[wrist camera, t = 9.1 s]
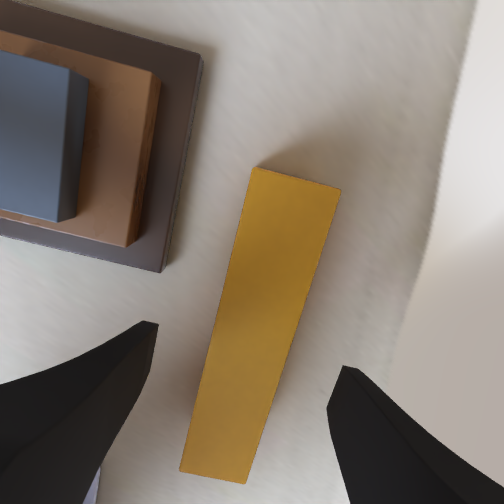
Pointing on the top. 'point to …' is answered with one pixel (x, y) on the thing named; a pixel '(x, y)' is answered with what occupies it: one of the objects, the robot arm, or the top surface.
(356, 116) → the top surface
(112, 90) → the brown stepped stand
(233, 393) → the bar
